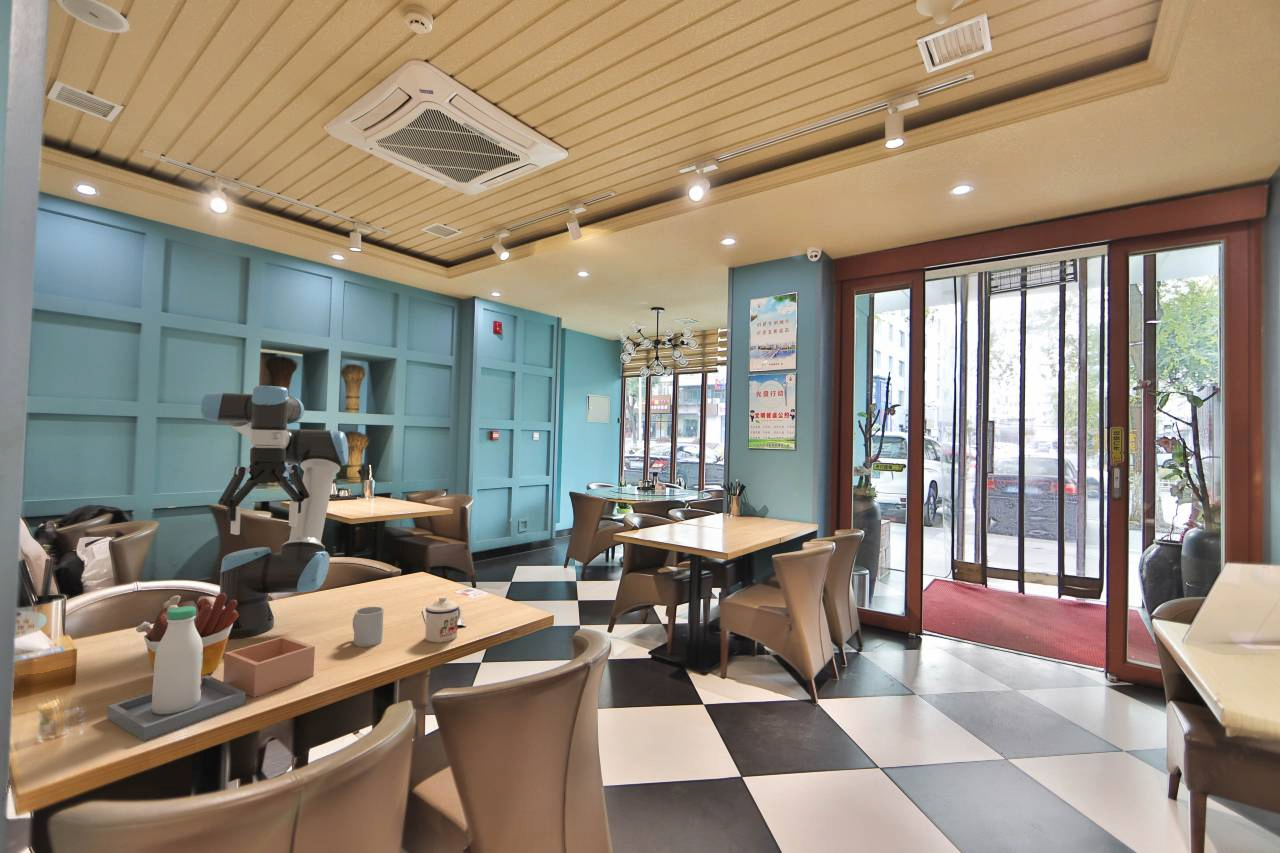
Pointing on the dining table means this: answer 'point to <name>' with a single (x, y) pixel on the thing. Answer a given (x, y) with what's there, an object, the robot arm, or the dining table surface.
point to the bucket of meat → (197, 628)
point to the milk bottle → (178, 664)
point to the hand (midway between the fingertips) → (265, 530)
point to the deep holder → (268, 665)
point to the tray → (148, 725)
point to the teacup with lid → (442, 620)
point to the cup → (368, 626)
